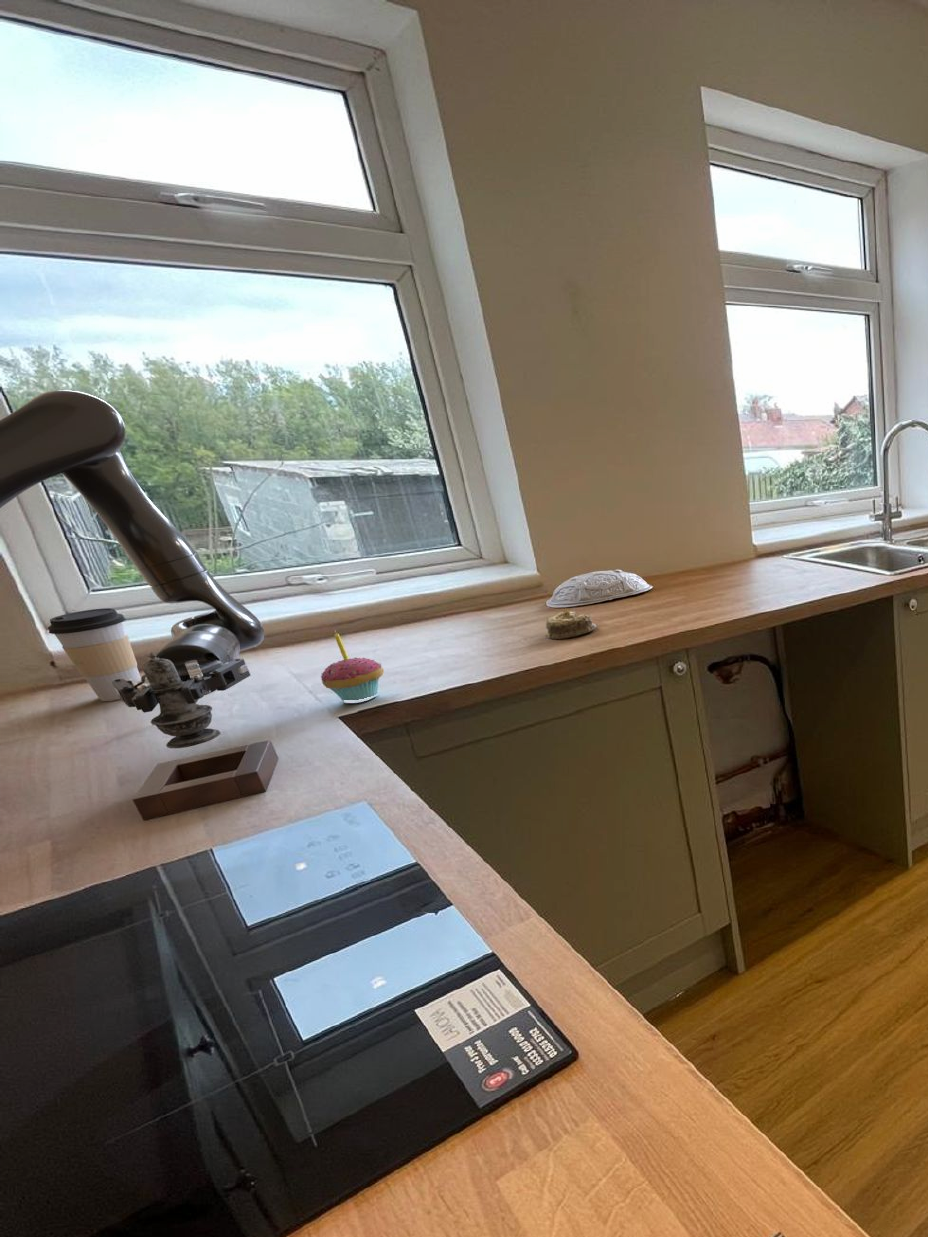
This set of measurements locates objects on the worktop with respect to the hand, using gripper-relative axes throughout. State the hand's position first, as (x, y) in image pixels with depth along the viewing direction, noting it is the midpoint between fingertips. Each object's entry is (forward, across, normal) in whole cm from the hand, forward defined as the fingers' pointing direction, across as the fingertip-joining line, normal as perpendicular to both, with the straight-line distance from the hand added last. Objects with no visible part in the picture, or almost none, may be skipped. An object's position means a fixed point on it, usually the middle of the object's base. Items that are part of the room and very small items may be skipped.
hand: (166, 700), depth 95 cm
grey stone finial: (-3, 0, +7) cm, 7 cm away
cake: (-48, +51, +14) cm, 71 cm away
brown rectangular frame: (-3, 0, +14) cm, 14 cm away
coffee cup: (-62, -22, +14) cm, 67 cm away
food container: (-77, +62, +15) cm, 100 cm away
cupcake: (-30, +15, +14) cm, 36 cm away
